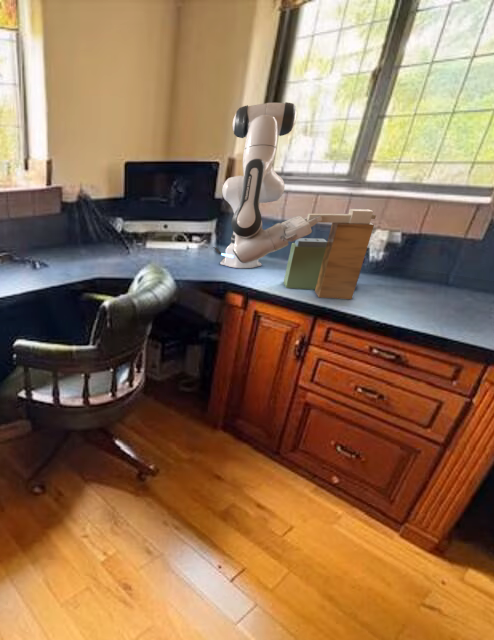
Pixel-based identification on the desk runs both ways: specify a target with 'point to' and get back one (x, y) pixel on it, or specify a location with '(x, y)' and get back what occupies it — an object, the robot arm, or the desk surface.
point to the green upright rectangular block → (304, 263)
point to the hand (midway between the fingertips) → (320, 216)
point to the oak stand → (343, 260)
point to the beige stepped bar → (346, 217)
